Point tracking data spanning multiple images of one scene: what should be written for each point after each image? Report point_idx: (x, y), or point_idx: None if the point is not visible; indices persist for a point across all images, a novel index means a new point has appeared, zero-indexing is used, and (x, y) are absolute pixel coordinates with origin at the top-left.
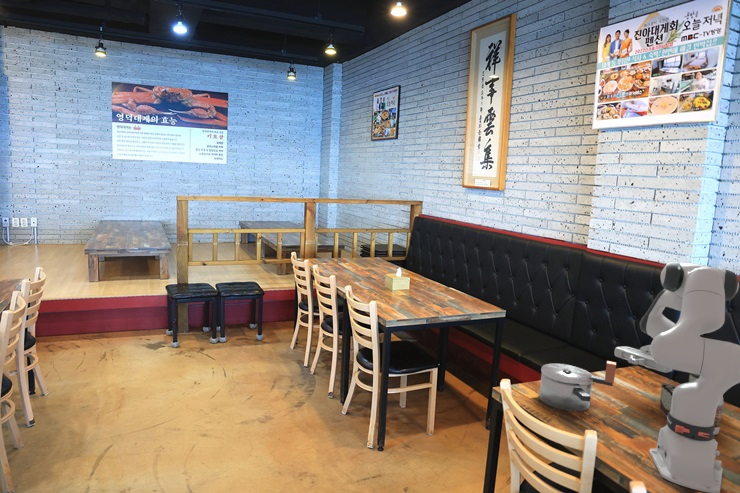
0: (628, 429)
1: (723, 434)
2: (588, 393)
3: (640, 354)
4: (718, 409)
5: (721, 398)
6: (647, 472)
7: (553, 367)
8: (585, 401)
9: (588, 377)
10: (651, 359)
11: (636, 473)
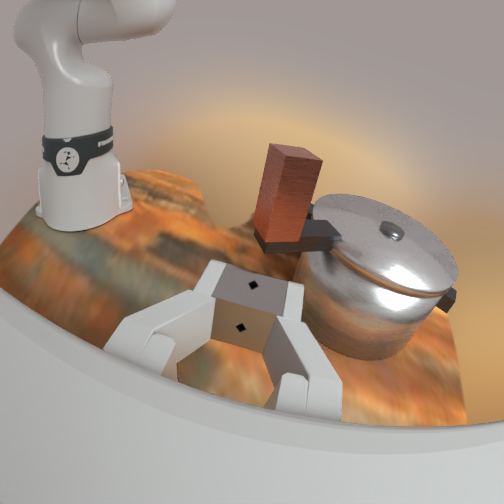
0: (170, 257)
1: None
2: (303, 252)
3: (204, 467)
4: None
5: None
6: (141, 180)
7: (428, 243)
8: (297, 265)
9: (337, 229)
10: (19, 305)
11: (154, 175)
